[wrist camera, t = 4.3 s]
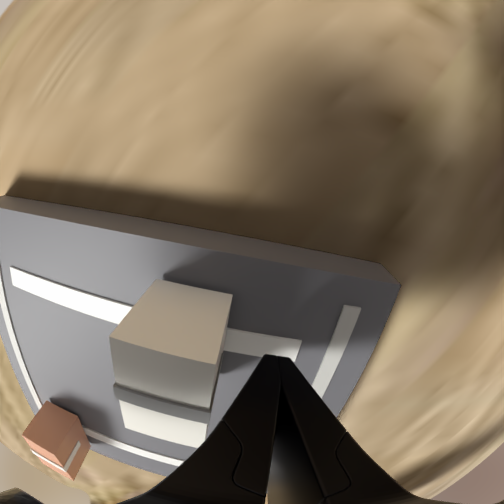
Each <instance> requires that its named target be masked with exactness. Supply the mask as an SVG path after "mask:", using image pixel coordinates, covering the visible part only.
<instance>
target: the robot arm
mask: <svg viewBox="0 0 504 504" xmlns="http://www.w3.org/2000/svg"><path fill="white" fill-rule="evenodd" d="M267 492H268V504H459V503H451V502H443V501H436V500H430V499H425V498H421V497H418V496H416V495H413V494H412V493H410V492H408V491H407V490H406V489H404V488H403V487H402V486H401V485H400V484H399V483H397V482H396V481H395V480H394V479H393V478H392V477H391V476H390V475H389V474H387V473H386V472H385V471H384V470H383V469H382V468H381V467H380V466H379V465H378V464H377V463H376V462H375V461H374V460H373V459H372V458H371V457H370V456H369V455H368V454H367V453H366V452H365V451H364V450H363V449H362V448H361V447H360V446H359V444H358V443H357V442H356V441H355V440H354V439H353V437H352V436H351V435H350V434H349V432H346V429H345V428H344V426H343V425H342V424H341V423H340V421H339V420H338V419H337V418H336V416H335V415H334V414H333V413H332V411H331V410H330V409H329V408H328V406H327V405H326V404H325V402H324V401H323V400H322V399H321V397H320V396H319V395H318V393H317V392H316V391H315V390H314V388H313V387H312V386H311V384H310V383H309V382H308V381H307V379H306V378H305V377H304V375H303V374H302V373H301V371H300V370H299V369H298V367H297V366H296V365H295V364H294V362H293V361H292V360H291V358H289V357H284V356H276V355H271V354H264V355H263V357H262V358H261V360H260V361H259V363H258V365H257V366H256V368H255V369H254V371H253V372H252V374H251V375H250V377H249V379H248V380H247V382H246V383H245V385H244V386H243V388H242V389H241V391H240V392H239V394H238V395H237V397H236V398H235V400H234V401H233V403H232V404H231V406H230V407H229V409H228V410H227V411H226V413H225V414H224V416H223V417H222V419H221V420H220V421H219V423H218V424H217V426H216V427H215V428H214V430H213V431H212V432H211V434H210V435H209V436H208V437H207V439H206V440H205V441H204V442H203V443H202V444H201V445H200V446H199V447H198V448H197V449H196V451H195V452H194V453H193V454H192V455H190V456H189V457H188V458H187V459H186V460H185V461H184V462H183V463H182V464H181V465H180V466H179V467H177V468H176V469H175V470H174V471H173V472H172V473H171V474H170V475H168V476H167V477H166V478H165V479H164V480H163V481H161V482H160V483H159V484H157V485H156V486H155V487H153V488H152V489H150V490H149V491H147V492H145V493H143V494H141V495H139V496H136V497H134V498H131V499H128V500H126V501H123V502H120V503H117V504H265V497H266V493H267ZM0 504H43V503H42V502H40V501H39V500H37V499H35V498H34V497H32V496H30V495H29V494H27V493H26V492H24V491H22V490H21V489H18V488H13V489H10V490H7V491H4V492H1V493H0ZM495 504H504V500H503V501H501V502H499V503H495Z"/></svg>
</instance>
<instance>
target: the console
mask: <svg viewBox="0 0 504 504" xmlns="http://www.w3.org/2000/svg"><path fill="white" fill-rule="evenodd" d="M156 279H160V280H165V281H169V282H174V283H178V284H183V285H188V286H193V287H197V288H202V289H207V290H212V291H217V292H222V293H227V294H232V295H233V296H232V302H231V307H230V313H229V319H228V325H227V331H226V337H225V342H224V348H223V359H222V365H221V370H220V374H219V379H218V384H217V388H216V393H215V398H214V403H213V408H212V412H211V417H210V422H209V426H208V431H207V436H206V439H207V437H208V436H209V435H210V434H211V432H212V431H213V430H214V428H215V427H216V426H217V424H218V423H219V421H220V420H221V419H222V417H223V416H224V414H225V413H226V411H227V410H228V409H229V407H230V406H231V404H232V403H233V401H234V400H235V398H236V397H237V395H238V394H239V392H240V391H241V389H242V388H243V386H244V385H245V383H246V382H247V380H248V379H249V377H250V375H251V374H252V372H253V371H254V369H255V368H256V366H257V365H258V363H259V361H260V360H261V358H262V357H263V355H264V354H271V355H276V356H284V357H289V358H291V360H292V361H293V362H294V364H295V365H296V366H297V367H298V369H299V370H300V371H301V373H302V374H303V375H304V377H305V378H306V379H307V381H308V382H309V383H310V384H311V386H312V387H313V388H314V390H315V391H316V392H317V393H318V395H319V396H320V397H321V399H322V400H323V401H324V402H325V404H326V405H327V406H328V408H329V409H330V410H331V411H332V413H333V414H334V415H335V416H336V418H337V416H338V415H339V413H340V411H341V410H342V408H343V406H344V405H345V403H346V401H347V400H348V398H349V396H350V394H351V392H352V391H353V389H354V387H355V385H356V383H357V382H358V380H359V378H360V376H361V374H362V372H363V370H364V368H365V366H366V364H367V362H368V360H369V358H370V356H371V354H372V352H373V350H374V348H375V346H376V344H377V342H378V340H379V338H380V335H381V333H382V331H383V329H384V326H385V324H386V322H387V319H388V317H389V315H390V312H391V310H392V307H393V305H394V303H395V300H396V297H397V295H398V292H399V290H400V287H401V284H400V283H399V282H398V281H397V280H396V279H395V278H394V277H393V276H392V275H391V274H390V273H389V272H388V271H387V270H386V269H385V268H384V267H383V266H382V265H381V264H380V263H375V262H370V261H366V260H361V259H356V258H351V257H346V256H341V255H336V254H331V253H326V252H321V251H316V250H311V249H306V248H301V247H296V246H291V245H285V244H280V243H275V242H270V241H265V240H260V239H254V238H249V237H244V236H238V235H233V234H228V233H222V232H217V231H212V230H206V229H201V228H195V227H190V226H184V225H179V224H173V223H168V222H162V221H156V220H151V219H145V218H139V217H134V216H128V215H122V214H116V213H110V212H104V211H99V210H93V209H87V208H81V207H74V206H68V205H62V204H56V203H50V202H44V201H37V200H31V199H25V198H18V197H12V196H5V195H4V196H0V335H1V338H2V341H3V344H4V347H5V349H6V352H7V355H8V358H9V360H10V363H11V365H12V368H13V370H14V373H15V375H16V377H17V380H18V382H19V384H20V386H21V389H22V391H23V393H24V395H25V397H26V399H27V401H28V403H29V405H30V407H31V409H32V411H33V413H34V415H36V414H37V413H38V411H39V410H40V408H41V407H42V406H43V404H44V403H45V402H46V400H47V401H49V402H51V403H53V404H55V405H56V406H58V407H60V408H62V409H64V410H66V411H68V412H70V413H72V414H75V415H77V416H78V418H79V420H80V423H81V425H82V427H83V430H84V432H85V434H86V436H87V438H88V441H89V443H90V445H91V447H90V450H92V451H95V452H97V453H99V454H102V455H104V456H107V457H109V458H112V459H114V460H117V461H120V462H122V463H125V464H128V465H131V466H134V467H136V468H140V469H143V470H146V471H149V472H152V473H156V474H159V475H163V476H166V477H167V476H168V475H170V474H171V473H172V472H173V471H174V470H175V469H176V468H177V467H179V466H180V465H181V464H182V463H183V462H184V461H185V460H186V459H187V458H188V457H189V456H190V455H192V454H193V453H194V452H195V451H196V449H197V448H195V447H191V446H186V445H182V444H178V443H174V442H170V441H166V440H163V439H159V438H156V437H152V436H149V435H146V434H143V433H139V432H136V431H133V430H130V429H128V428H125V425H124V421H123V416H122V412H121V407H120V403H119V400H118V399H116V398H115V395H114V390H113V385H114V383H115V376H114V370H113V363H112V356H111V349H110V341H109V336H110V335H111V333H112V332H113V331H114V330H115V328H116V327H117V326H118V325H119V323H120V322H121V321H122V320H123V318H124V317H125V316H126V315H127V313H128V312H129V311H130V310H131V309H132V307H133V306H134V305H135V304H136V303H137V301H138V300H139V299H140V298H141V297H142V295H143V294H144V293H145V292H146V291H147V289H148V288H149V287H150V286H151V285H152V284H153V282H154V281H155V280H156ZM267 493H268V492H267Z"/></svg>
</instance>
